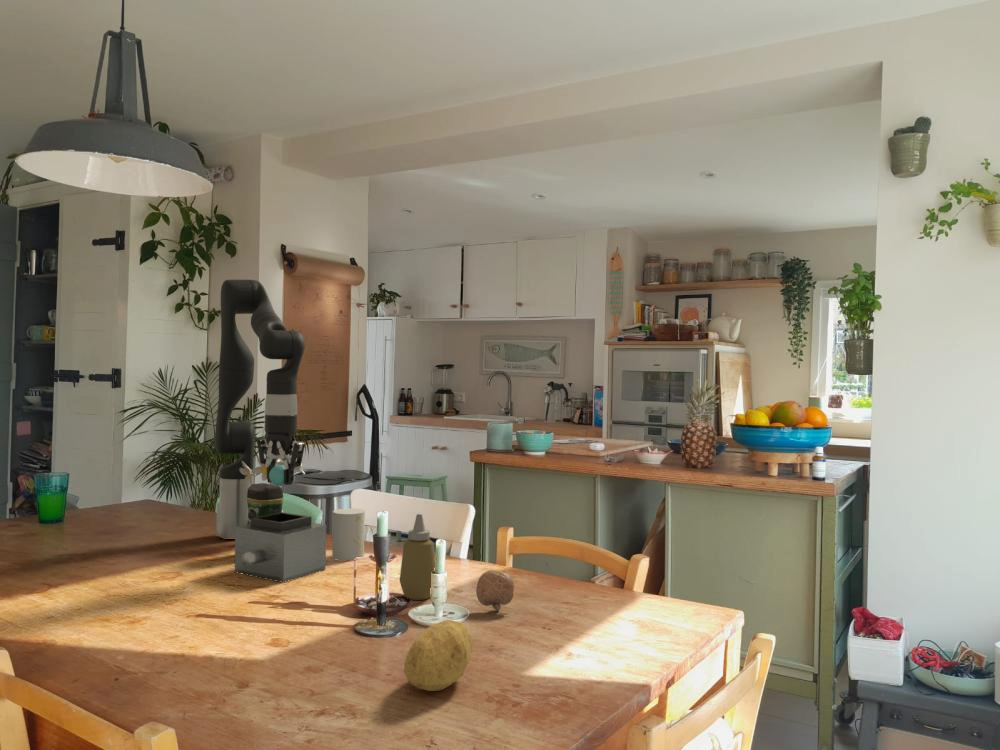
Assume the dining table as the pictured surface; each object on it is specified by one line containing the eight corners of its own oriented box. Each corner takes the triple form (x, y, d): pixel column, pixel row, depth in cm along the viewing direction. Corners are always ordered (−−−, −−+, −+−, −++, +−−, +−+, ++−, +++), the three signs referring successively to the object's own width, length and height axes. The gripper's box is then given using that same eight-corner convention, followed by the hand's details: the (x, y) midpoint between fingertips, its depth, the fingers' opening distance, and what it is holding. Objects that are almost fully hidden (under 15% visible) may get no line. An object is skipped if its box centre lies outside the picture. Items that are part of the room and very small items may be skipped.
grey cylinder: (360, 561, 201) (361, 514, 201) (329, 560, 201) (329, 513, 201) (366, 553, 209) (367, 508, 209) (336, 552, 210) (337, 508, 209)
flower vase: (231, 542, 220) (233, 452, 220) (287, 532, 234) (288, 448, 234) (258, 549, 212) (260, 456, 211) (314, 538, 226) (315, 452, 226)
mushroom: (518, 610, 163) (519, 571, 163) (502, 617, 158) (503, 578, 158) (489, 603, 167) (489, 566, 167) (472, 610, 162) (472, 572, 162)
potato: (489, 680, 126) (490, 621, 126) (423, 709, 115) (424, 644, 115) (445, 664, 133) (446, 608, 133) (379, 689, 122) (380, 628, 122)
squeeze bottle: (430, 603, 166) (431, 518, 166) (394, 600, 168) (395, 516, 168) (440, 593, 174) (442, 512, 174) (406, 590, 176) (407, 510, 176)
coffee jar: (287, 555, 206) (288, 484, 206) (260, 560, 200) (261, 487, 200) (268, 548, 213) (269, 480, 213) (241, 553, 207) (242, 483, 207)
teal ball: (264, 486, 189) (264, 465, 189) (280, 483, 193) (280, 463, 193) (279, 487, 186) (279, 466, 186) (294, 485, 190) (295, 464, 190)
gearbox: (221, 576, 184) (222, 521, 184) (277, 560, 200) (278, 509, 200) (270, 586, 176) (271, 529, 176) (325, 569, 192) (326, 516, 192)
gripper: (248, 412, 190) (247, 482, 190) (291, 415, 183) (290, 488, 183) (271, 411, 196) (270, 479, 196) (314, 413, 189) (313, 484, 189)
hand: (280, 483), depth 190 cm, fingers closed on teal ball, 5 cm apart
